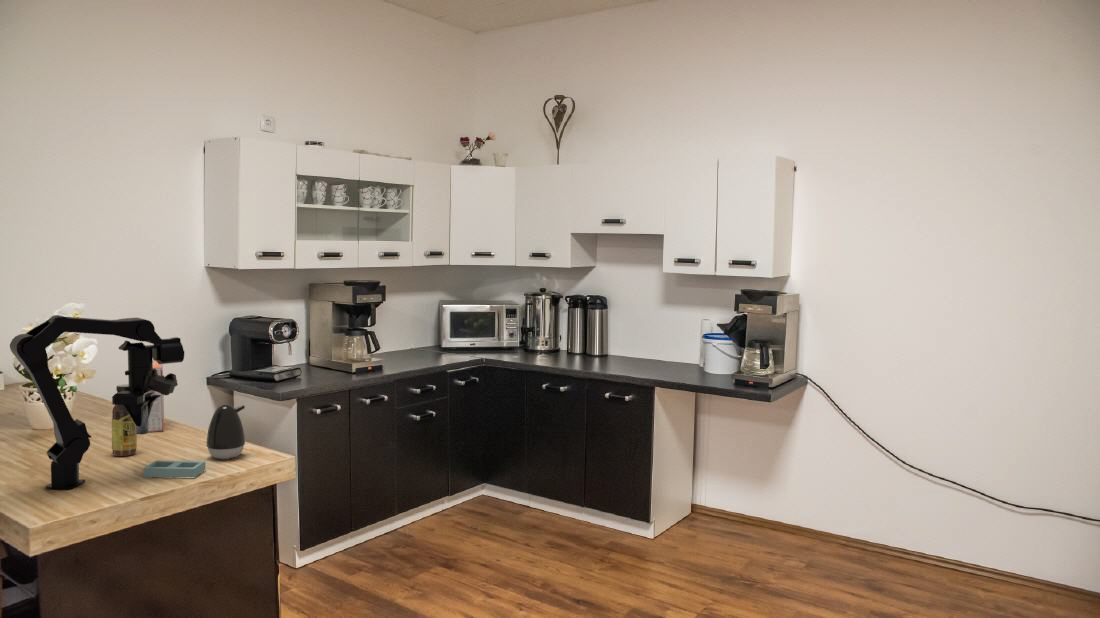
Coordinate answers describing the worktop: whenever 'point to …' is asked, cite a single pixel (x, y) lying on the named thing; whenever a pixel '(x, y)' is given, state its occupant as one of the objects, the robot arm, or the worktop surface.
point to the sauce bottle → (123, 430)
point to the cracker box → (157, 406)
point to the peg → (143, 422)
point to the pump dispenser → (226, 432)
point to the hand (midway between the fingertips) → (141, 424)
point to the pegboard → (174, 469)
